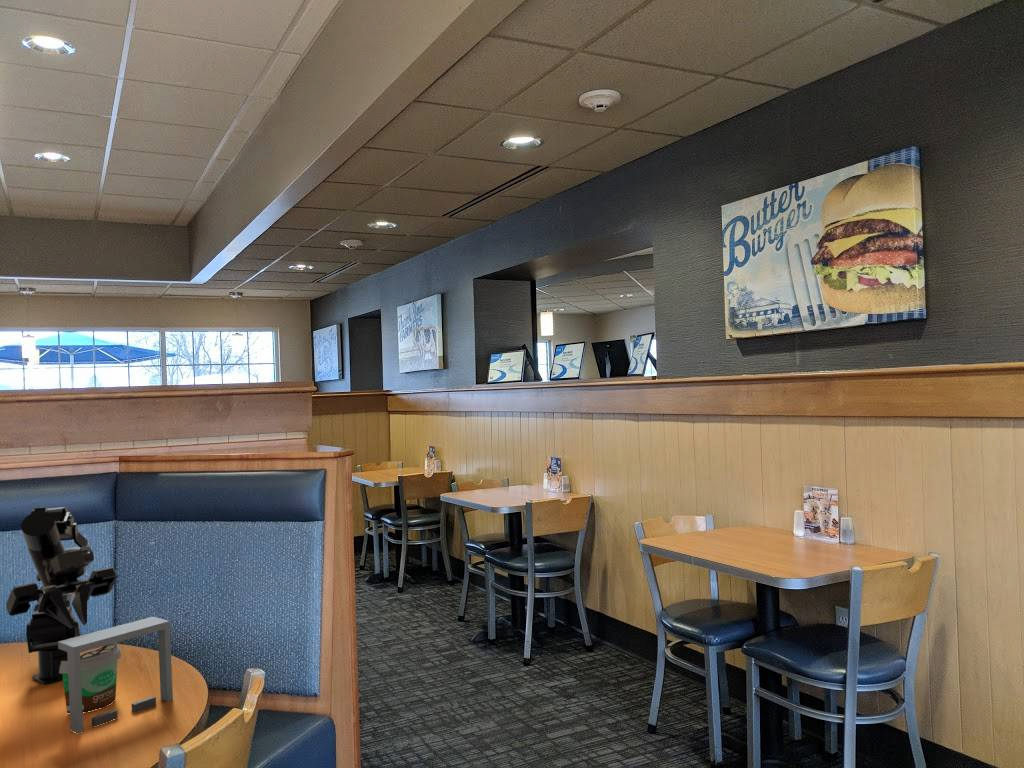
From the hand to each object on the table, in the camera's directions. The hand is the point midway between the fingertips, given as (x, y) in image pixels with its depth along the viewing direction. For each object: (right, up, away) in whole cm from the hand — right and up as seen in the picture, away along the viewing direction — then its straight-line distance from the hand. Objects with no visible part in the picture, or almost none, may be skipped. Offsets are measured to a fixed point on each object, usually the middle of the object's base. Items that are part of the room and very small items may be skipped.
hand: (78, 625), depth 150 cm
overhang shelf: (+12, -13, -9) cm, 20 cm away
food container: (+7, -14, -5) cm, 16 cm away
